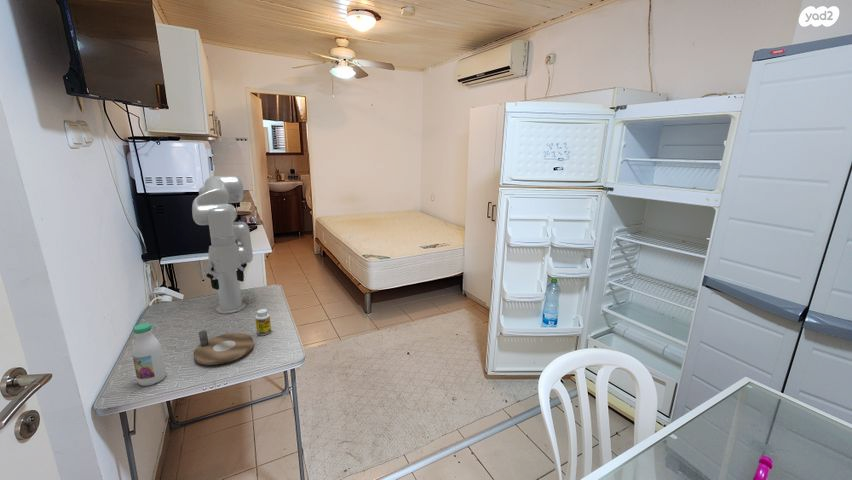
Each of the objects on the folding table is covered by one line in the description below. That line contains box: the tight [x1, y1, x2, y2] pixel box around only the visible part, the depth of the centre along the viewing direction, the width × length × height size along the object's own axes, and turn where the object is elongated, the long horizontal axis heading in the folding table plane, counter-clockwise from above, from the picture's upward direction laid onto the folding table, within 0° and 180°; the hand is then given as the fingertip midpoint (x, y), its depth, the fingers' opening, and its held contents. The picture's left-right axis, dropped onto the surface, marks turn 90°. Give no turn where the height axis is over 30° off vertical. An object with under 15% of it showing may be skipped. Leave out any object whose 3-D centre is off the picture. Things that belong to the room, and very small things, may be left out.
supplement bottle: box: [254, 308, 272, 336], centre depth 150 cm, size 6×6×10 cm
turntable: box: [193, 329, 254, 366], centre depth 135 cm, size 20×20×7 cm
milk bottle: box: [131, 322, 167, 387], centre depth 117 cm, size 8×8×20 cm
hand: (228, 284), depth 133 cm, fingers open, 9 cm apart
